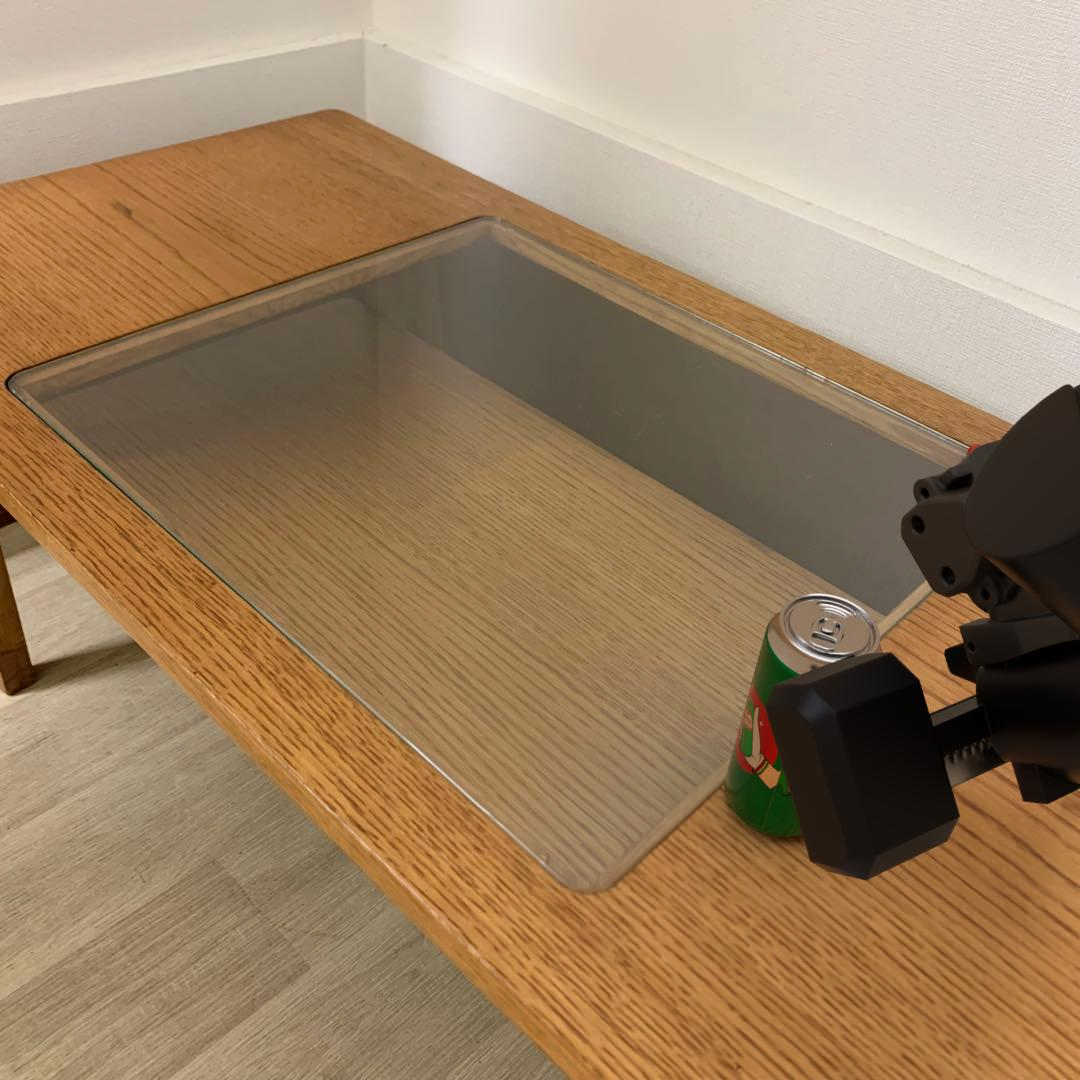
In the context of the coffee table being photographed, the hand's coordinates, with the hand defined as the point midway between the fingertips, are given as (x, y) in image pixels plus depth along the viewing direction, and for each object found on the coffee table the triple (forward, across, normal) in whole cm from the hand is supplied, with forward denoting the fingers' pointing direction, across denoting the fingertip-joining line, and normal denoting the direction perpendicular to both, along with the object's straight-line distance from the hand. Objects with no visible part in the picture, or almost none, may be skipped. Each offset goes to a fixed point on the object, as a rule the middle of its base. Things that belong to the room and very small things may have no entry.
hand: (865, 693), depth 46 cm
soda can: (+11, -1, +6) cm, 12 cm away
